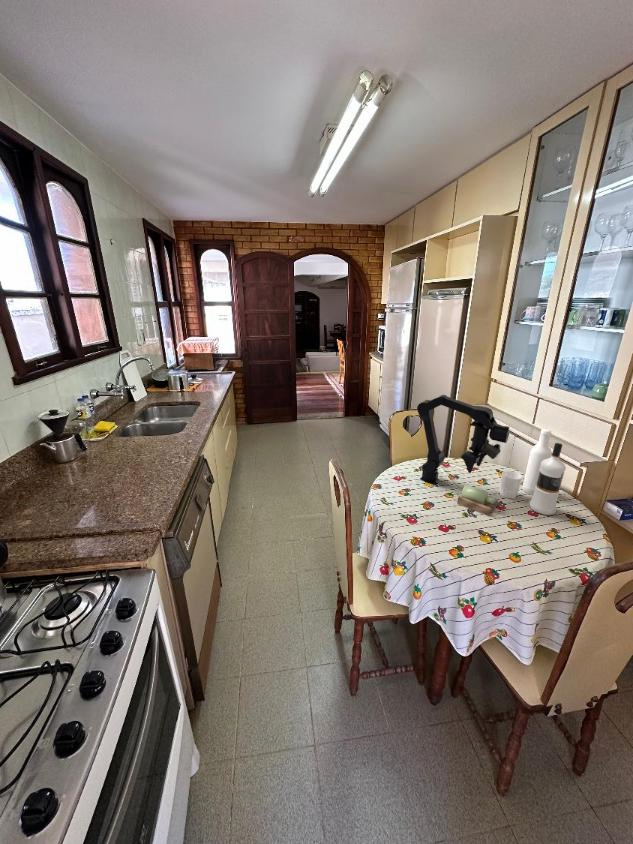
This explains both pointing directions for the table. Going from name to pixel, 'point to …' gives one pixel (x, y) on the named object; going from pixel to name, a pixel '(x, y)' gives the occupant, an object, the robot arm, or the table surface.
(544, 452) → the bottle
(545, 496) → the vodka
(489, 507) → the rest
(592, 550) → the table surface
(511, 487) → the white cup
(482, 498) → the bottle
